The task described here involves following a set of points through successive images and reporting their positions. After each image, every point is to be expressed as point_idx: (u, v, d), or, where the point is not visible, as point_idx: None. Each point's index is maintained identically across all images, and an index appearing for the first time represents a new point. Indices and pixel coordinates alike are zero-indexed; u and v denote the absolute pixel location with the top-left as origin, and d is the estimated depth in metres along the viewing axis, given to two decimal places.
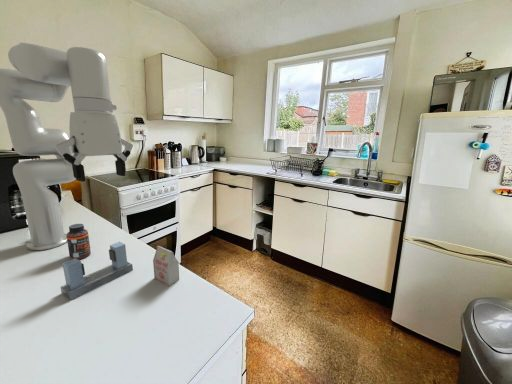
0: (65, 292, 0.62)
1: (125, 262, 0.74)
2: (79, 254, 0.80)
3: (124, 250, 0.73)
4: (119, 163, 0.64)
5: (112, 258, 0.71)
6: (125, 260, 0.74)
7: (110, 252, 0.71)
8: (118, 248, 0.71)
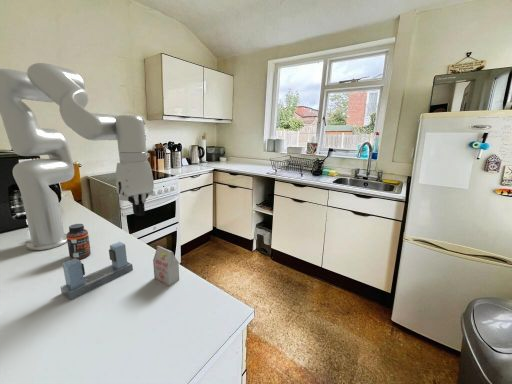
0: (65, 292, 0.62)
1: (125, 262, 0.74)
2: (79, 254, 0.80)
3: (124, 250, 0.73)
4: None
5: (112, 258, 0.71)
6: (125, 260, 0.74)
7: (110, 252, 0.71)
8: (118, 248, 0.71)
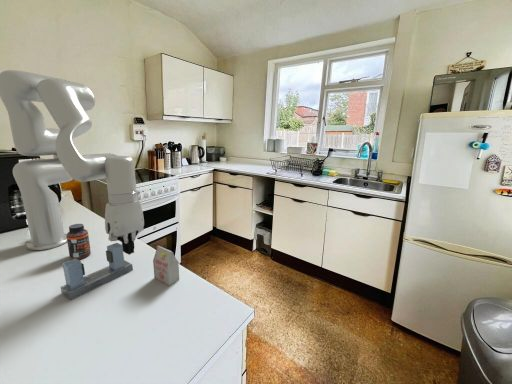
0: (65, 292, 0.62)
1: (122, 263, 0.73)
2: (79, 254, 0.80)
3: (121, 251, 0.72)
4: None
5: (109, 259, 0.71)
6: (122, 261, 0.73)
7: (107, 253, 0.71)
8: (115, 249, 0.71)
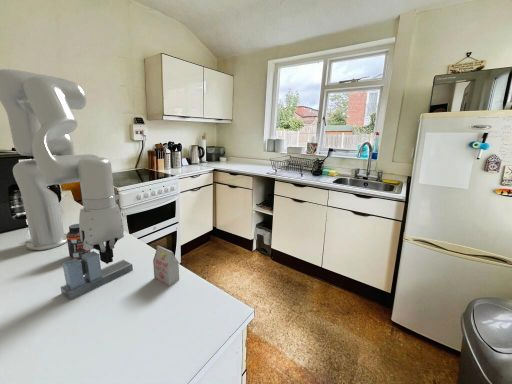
0: (65, 292, 0.62)
1: (99, 274, 0.68)
2: (79, 254, 0.80)
3: (98, 261, 0.67)
4: None
5: None
6: (99, 271, 0.68)
7: None
8: (90, 258, 0.65)
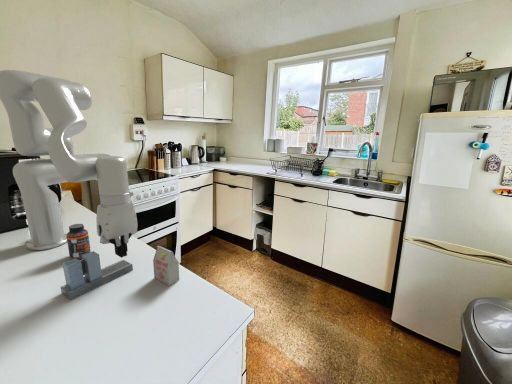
0: (65, 292, 0.62)
1: (99, 274, 0.68)
2: (79, 254, 0.80)
3: (98, 261, 0.67)
4: None
5: None
6: (99, 271, 0.68)
7: None
8: (90, 258, 0.65)
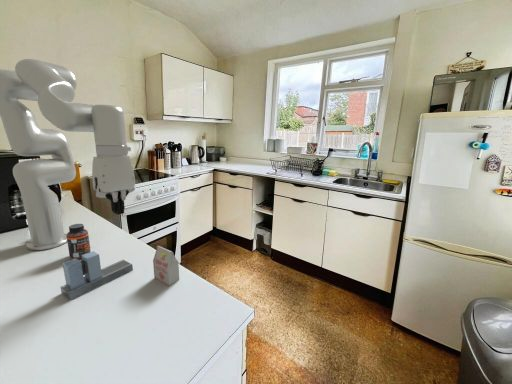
0: (65, 292, 0.62)
1: (99, 274, 0.68)
2: (79, 254, 0.80)
3: (98, 261, 0.67)
4: None
5: None
6: (99, 271, 0.68)
7: None
8: (90, 258, 0.65)
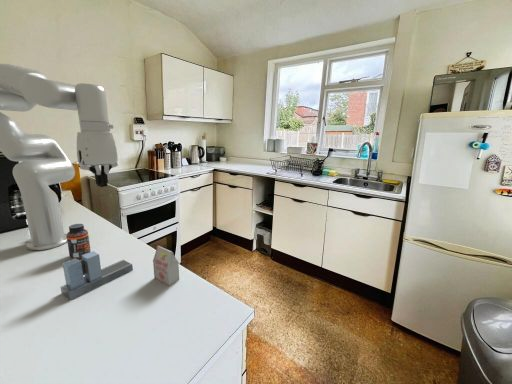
0: (65, 292, 0.62)
1: (99, 274, 0.68)
2: (79, 254, 0.80)
3: (98, 261, 0.67)
4: None
5: None
6: (99, 271, 0.68)
7: None
8: (90, 258, 0.65)
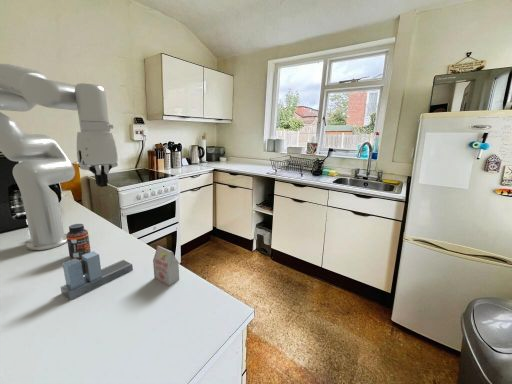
0: (65, 292, 0.62)
1: (99, 274, 0.68)
2: (79, 254, 0.80)
3: (98, 261, 0.67)
4: None
5: None
6: (99, 271, 0.68)
7: None
8: (90, 258, 0.65)
